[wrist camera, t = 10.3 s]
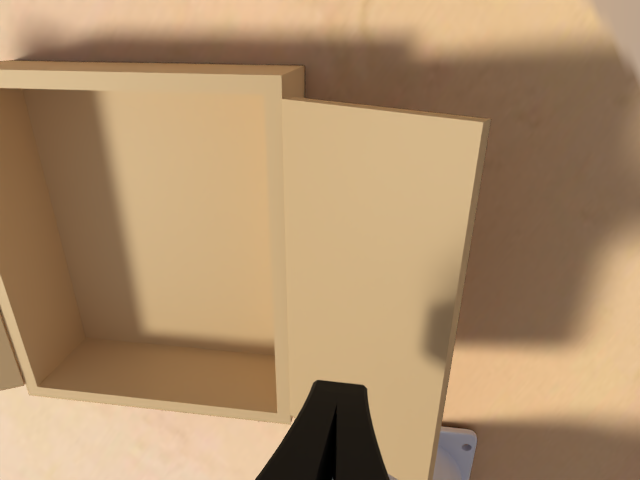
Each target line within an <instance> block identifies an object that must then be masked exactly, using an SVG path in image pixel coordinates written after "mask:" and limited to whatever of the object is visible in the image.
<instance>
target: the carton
mask: <svg viewBox="0 0 640 480" xmlns="http://www.w3.org/2000/svg"><path fill="white" fill-rule="evenodd" d="M290 97H299V98H305V66H303V65H246V64H190V63H133V62H77V61H20V60H11V61H0V311H1V314H2V317H3V320H4V323H5V326H6V329H7V332H8V335H9V337H10V340H11V343H12V346H13V349H14V352H15V355H16V358H17V361H18V364H19V367H20V370H21V373H22V376H23V378H24V381H25V384H26V387H27V390H28V393H29V395H32V396H41V397H50V398H59V399H67V400H76V401H85V402H94V403H103V404H112V405H121V406H130V407H139V408H147V409H156V410H165V411H174V412H183V413H192V414H201V415H210V416H218V417H227V418H236V419H245V420H254V421H263V422H272V423H281V424H289V425H291V421H292V417H293V416H291V415H290V397H289V361H288V324H287V287H286V250H285V213H284V177H283V140H282V103H281V99H283V98H290Z"/></svg>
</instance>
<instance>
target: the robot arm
mask: <svg viewBox="0 0 640 480" xmlns="http://www.w3.org/2000/svg"><path fill="white" fill-rule="evenodd" d="M464 444H468V445H464ZM476 445H477V436H476V434H475V432H474V431H472V430H469V429H461V428H452V427H443V426H441V431H440V437H439V443H438V449H437V455H436V461H435V467H434V474H433V480H469V478H470V473H471V468H472V464H473V459H474V454H475V449H476ZM255 480H398V479H396V478H394V477H393V476H391V475H389V474H388V473H387V470H386V468H385V465H384V462H383V459H382V455H381V452H380V449H379V446H378V442H377V439H376V435H375V432H374V428H373V424H372V419H371V415H370V409H369V403H368V393H367V388H366V387H365V386H364V385H361V384H352V383H343V382H333V381H324V380H316V381H315V382H313V385H312V387H311V390H310V392H309V394H308V397H307V399H306V401H305V403H304V405H303V407H302V408H301V410H300V412H299V414H298V416H297V418H296V419H295V421H294V423H293V424H292V426H291V428H290V429H289V431H288V433H287V434H286V436H285V437H284V439H283V441H282V442H281V444H280V445H279V447H278V448H277V450H276V451H275V453H274V454H273V455H272V457H271V458H270V460H269V461H268V463H267V464H266V465H265V467H264V468H263V470H262V471H261V472H260V474H259V475H258V476H257V478H256V479H255Z"/></svg>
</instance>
